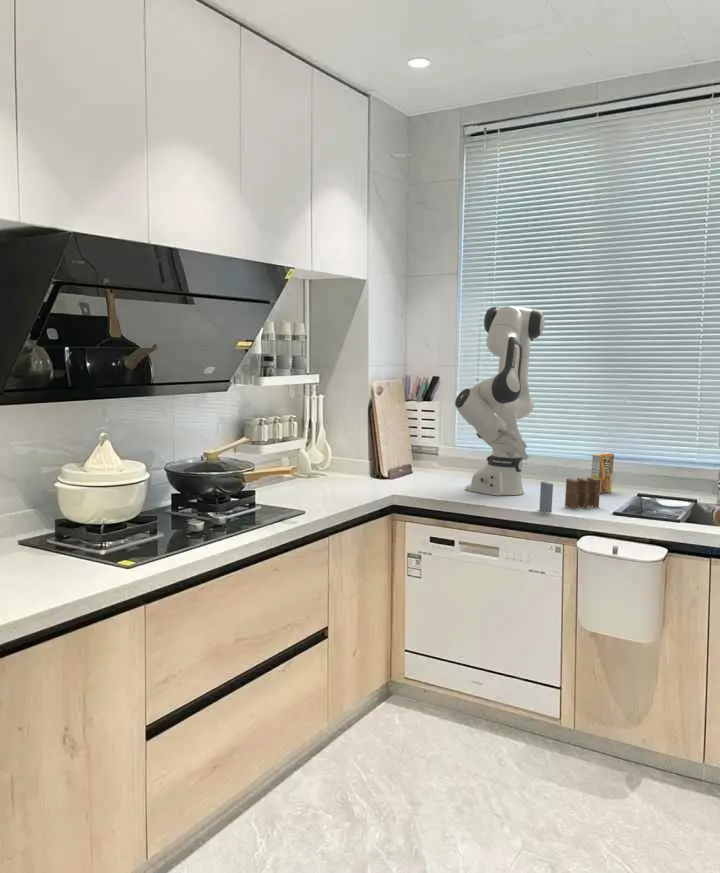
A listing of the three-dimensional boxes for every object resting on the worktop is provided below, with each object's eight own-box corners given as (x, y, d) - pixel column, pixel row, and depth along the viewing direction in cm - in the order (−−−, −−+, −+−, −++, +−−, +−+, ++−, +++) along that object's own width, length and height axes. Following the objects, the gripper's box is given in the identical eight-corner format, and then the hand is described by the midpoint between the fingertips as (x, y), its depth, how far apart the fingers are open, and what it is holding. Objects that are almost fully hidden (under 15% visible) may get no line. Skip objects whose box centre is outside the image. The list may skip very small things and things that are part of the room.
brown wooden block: (594, 507, 280) (596, 480, 279) (585, 504, 285) (587, 477, 284) (598, 507, 281) (600, 479, 280) (589, 504, 285) (591, 477, 284)
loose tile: (546, 513, 269) (548, 484, 268) (539, 509, 274) (540, 481, 273) (551, 512, 270) (553, 483, 269) (544, 509, 275) (545, 481, 274)
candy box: (602, 490, 315) (605, 452, 313) (612, 492, 312) (614, 453, 310) (589, 492, 309) (591, 453, 307) (598, 494, 306) (601, 455, 304)
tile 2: (573, 509, 277) (575, 481, 276) (564, 506, 281) (566, 478, 280) (577, 508, 278) (579, 480, 276) (569, 506, 282) (570, 478, 281)
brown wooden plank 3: (584, 508, 279) (585, 480, 277) (575, 505, 283) (576, 478, 282) (588, 508, 279) (590, 480, 278) (579, 505, 284) (581, 477, 283)
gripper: (514, 423, 253) (541, 452, 256) (485, 421, 272) (510, 447, 276) (501, 438, 252) (529, 467, 255) (473, 434, 271) (499, 461, 275)
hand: (519, 457), depth 266 cm, fingers open, 8 cm apart
